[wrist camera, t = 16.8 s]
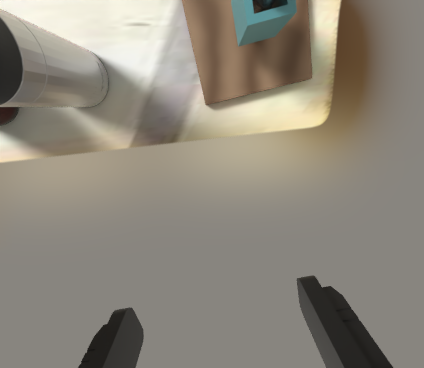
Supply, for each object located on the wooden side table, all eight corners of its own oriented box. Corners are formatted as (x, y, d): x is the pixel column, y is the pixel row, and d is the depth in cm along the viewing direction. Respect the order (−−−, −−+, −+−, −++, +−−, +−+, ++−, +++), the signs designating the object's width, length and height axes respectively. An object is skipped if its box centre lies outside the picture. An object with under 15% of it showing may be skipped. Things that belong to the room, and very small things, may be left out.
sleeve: (238, 46, 29) (247, 25, 22) (231, 2, 28) (238, -37, 20) (274, 36, 29) (296, 12, 21) (269, -9, 27) (291, -54, 20)
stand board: (206, 105, 37) (205, 104, 35) (177, -22, 31) (175, -28, 29) (308, 79, 35) (312, 78, 34) (299, -59, 29) (303, -67, 28)
